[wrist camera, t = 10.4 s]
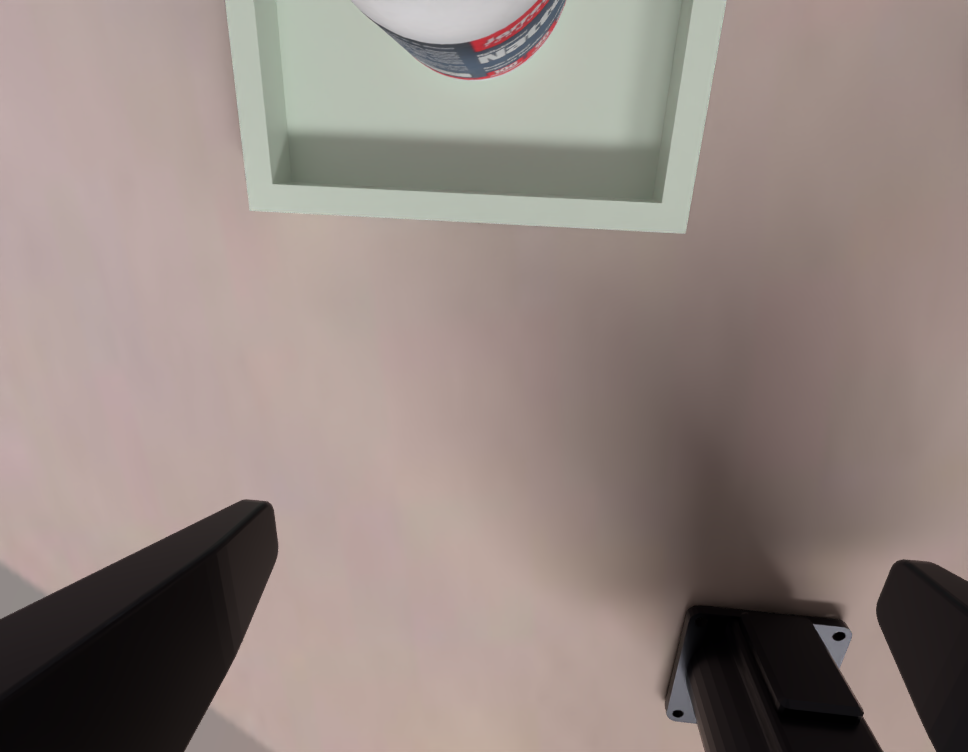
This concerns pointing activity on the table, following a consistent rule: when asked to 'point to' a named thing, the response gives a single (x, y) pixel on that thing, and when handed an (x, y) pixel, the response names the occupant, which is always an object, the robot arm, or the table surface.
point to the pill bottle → (467, 32)
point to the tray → (477, 118)
